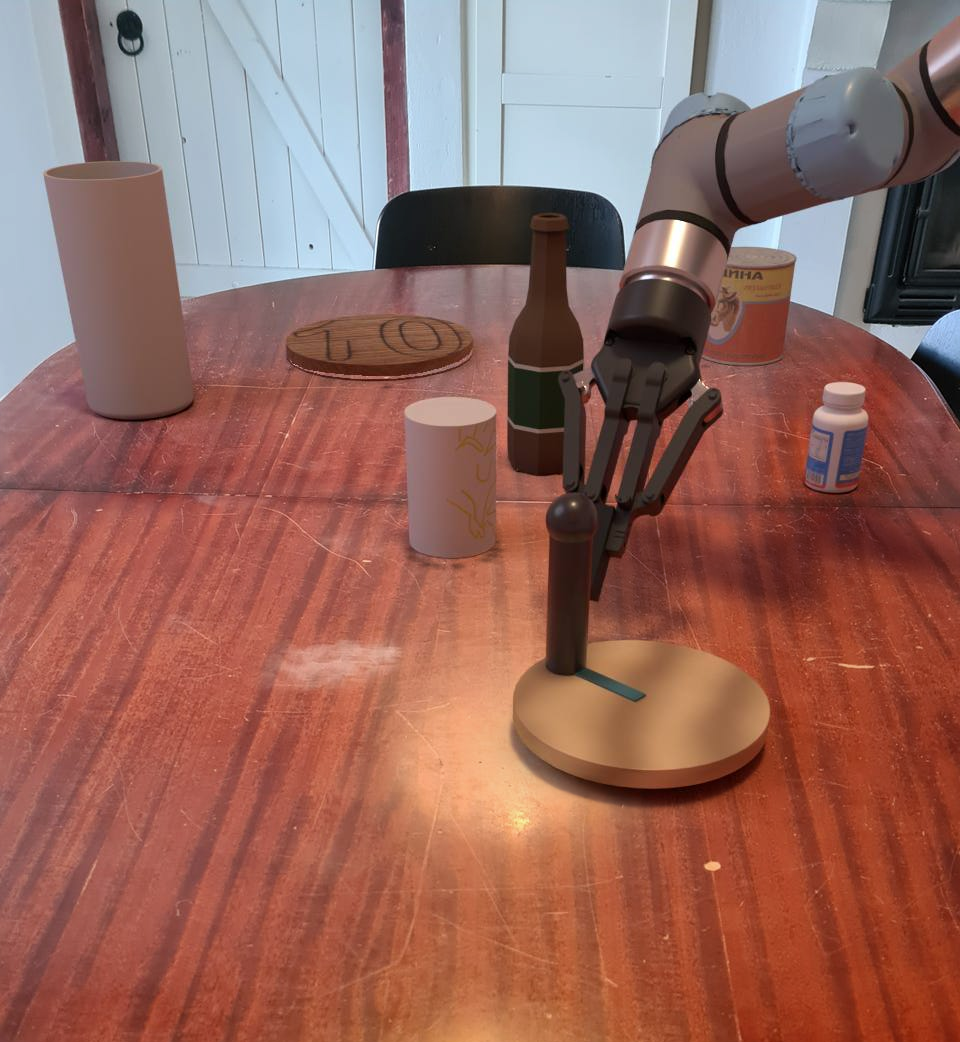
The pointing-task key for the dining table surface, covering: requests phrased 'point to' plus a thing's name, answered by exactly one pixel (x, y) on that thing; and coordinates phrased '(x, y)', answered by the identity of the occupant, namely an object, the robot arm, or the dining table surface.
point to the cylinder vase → (121, 286)
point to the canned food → (751, 308)
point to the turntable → (628, 688)
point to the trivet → (378, 345)
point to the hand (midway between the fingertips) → (585, 593)
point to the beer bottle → (542, 354)
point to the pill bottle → (837, 439)
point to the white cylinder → (451, 476)
